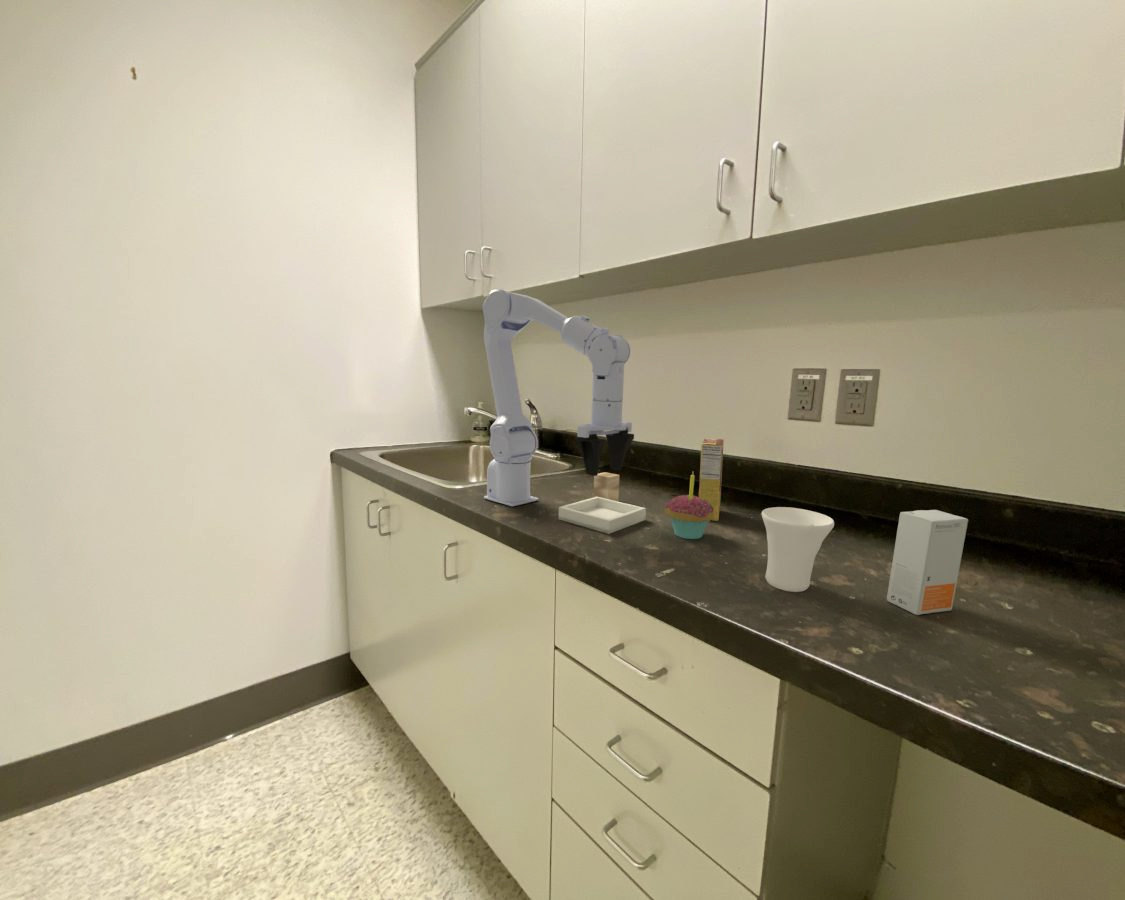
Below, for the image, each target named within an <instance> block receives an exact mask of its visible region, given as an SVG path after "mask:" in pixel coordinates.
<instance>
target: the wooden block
mask: <svg viewBox="0 0 1125 900" xmlns="http://www.w3.org/2000/svg"><path fill="white" fill-rule="evenodd" d="M619 490H620V474H616V473H612V472H611V473H610V472H606V471H605V472H600V473H599V472H598V474H597V476H593V496H592V498H593V497H601V498H605V499H609V500H614V501H618V502H619V493H620V492H619Z"/></svg>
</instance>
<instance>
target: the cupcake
mask: <svg viewBox="0 0 1125 900" xmlns="http://www.w3.org/2000/svg"><path fill="white" fill-rule="evenodd" d="M691 473H692V474H691V475H690V479H689V492H688V494H682V495H678V496H675V497H673V498H671V499H669V500H668V501H667V502H666V504H665V505H664V514H665V515H667V516H668V517H669V518H670V521H671V524H672V527H673V531H674V535H676V536H677V537H679V538H682V539H687V540H698V539H701V538H702V537H703V535H704V532H705V530H706V528H707V526H708V523H709V522H710V521H711V519H713V518H714V511H713V510H714V507H712V505H711V504H710V503H709V502H708V501H706V500H705V499H704V500H703V499H702V498H699V496H696V495H694V486H695V478H696V477H695V476H696V475H694V471H693V470H692V472H691Z"/></svg>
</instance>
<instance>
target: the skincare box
mask: <svg viewBox="0 0 1125 900" xmlns="http://www.w3.org/2000/svg"><path fill="white" fill-rule="evenodd" d="M968 523H969V519H968V518H966V517H963V516H959V515H954V514H952V513H948V512H945V511H941V510H938V509H929V510H925V509H924V510H923V509H920V510H919V509H917V510H913V511H912V510H911V511H900V513H899V517H898V525H897V530H896V537H895V544H894V550H893V556H892V563H891V570H890V573H889V574H890V576H889V581H888V587H887V594H886V595H887V596H886V601H887V602H889V603H891V604H893V605H895V606H897V607H899V608H901V609H903V610H906V611H907V612H910V613H911V614H913V615H915V616H920V615H924V614H932V613H941V612H950V611H952V610H953V607H954V601H955V595H956V588H957V584H958V583H957V582H958V577H959V572H960V568H961V567H960V566H961V561H962V555H963V549H964V543H965V539H966V533H967V529H968Z"/></svg>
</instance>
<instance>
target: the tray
mask: <svg viewBox="0 0 1125 900" xmlns="http://www.w3.org/2000/svg"><path fill="white" fill-rule="evenodd" d="M646 511H647V507H642V506H638V505H634V504H629V503H626V502H621V501H619V500H618V501H614V500H609V499H605V498H601V497H593V496H592V497H591V498H587V499H583V500H580V501H577V502H573V503H569V504H568V503H567V504H565V505H562V506H559V507H558V519H557V520H559V521H562V522H566V523H570V524H573V525H576V526H581V527H585V528H588V529H589V530H594V531H597V532H600V533H605V534H606V535H607V534H608V535H611V534H613V533H615V532H617V531H620V530H623V529H626V528H629V527H630V526H633V525H636V524H638V523H642V522H644V521H646V514H647V513H646Z"/></svg>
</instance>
